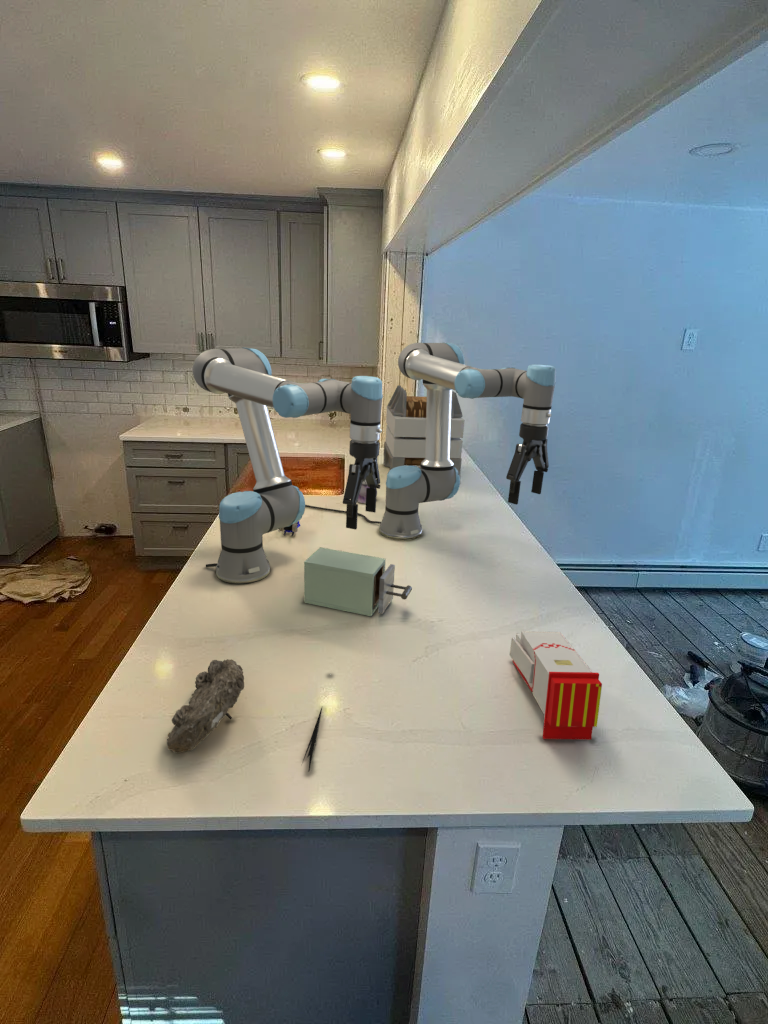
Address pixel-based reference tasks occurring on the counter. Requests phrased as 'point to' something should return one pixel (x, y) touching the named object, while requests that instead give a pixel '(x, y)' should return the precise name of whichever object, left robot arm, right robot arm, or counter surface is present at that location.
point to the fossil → (206, 705)
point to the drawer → (386, 588)
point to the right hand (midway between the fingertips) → (524, 498)
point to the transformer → (416, 430)
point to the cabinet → (341, 580)
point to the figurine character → (290, 528)
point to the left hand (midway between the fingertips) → (361, 519)
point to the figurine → (363, 493)
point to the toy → (558, 683)
